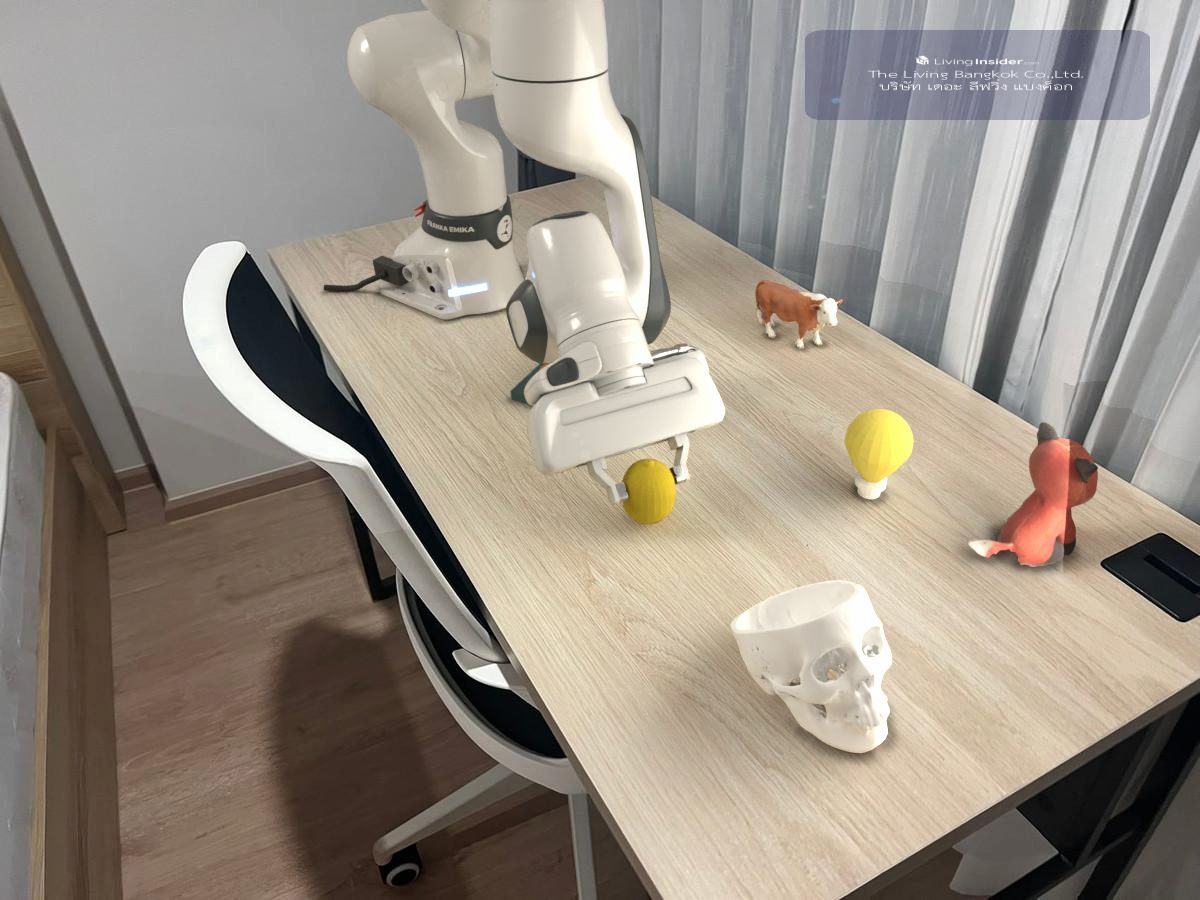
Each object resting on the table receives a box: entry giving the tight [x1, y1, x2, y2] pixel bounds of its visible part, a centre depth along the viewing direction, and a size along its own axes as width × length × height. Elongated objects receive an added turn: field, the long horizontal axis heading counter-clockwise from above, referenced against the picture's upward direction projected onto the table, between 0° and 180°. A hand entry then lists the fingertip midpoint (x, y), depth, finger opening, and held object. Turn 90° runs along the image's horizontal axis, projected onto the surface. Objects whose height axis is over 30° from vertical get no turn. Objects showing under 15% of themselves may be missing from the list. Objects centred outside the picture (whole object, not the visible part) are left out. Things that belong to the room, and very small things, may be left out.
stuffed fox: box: [967, 421, 1099, 568], centre depth 84 cm, size 8×11×12 cm
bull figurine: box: [754, 279, 844, 350], centre depth 118 cm, size 4×13×8 cm, turn 41°
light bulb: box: [844, 408, 914, 500], centre depth 92 cm, size 7×7×10 cm
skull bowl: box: [730, 579, 893, 754], centre depth 74 cm, size 10×14×12 cm
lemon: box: [621, 458, 677, 525], centre depth 90 cm, size 6×6×8 cm
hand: (650, 492), depth 90 cm, fingers closed on lemon, 5 cm apart
